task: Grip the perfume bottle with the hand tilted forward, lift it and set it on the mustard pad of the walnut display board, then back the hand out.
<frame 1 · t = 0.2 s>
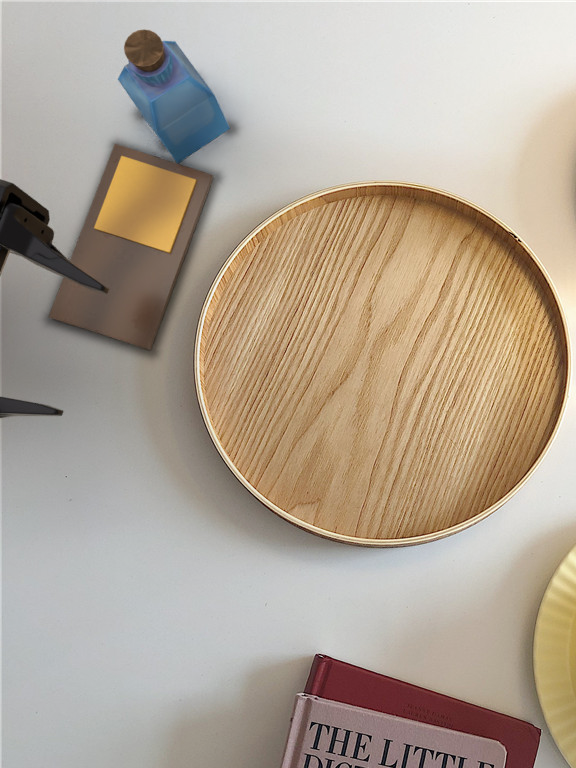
hand: (83, 351, 49), 17 cm above the table, tool horizontal, fingers open, 9 cm apart
perfume bottle: (186, 122, 68), on the table
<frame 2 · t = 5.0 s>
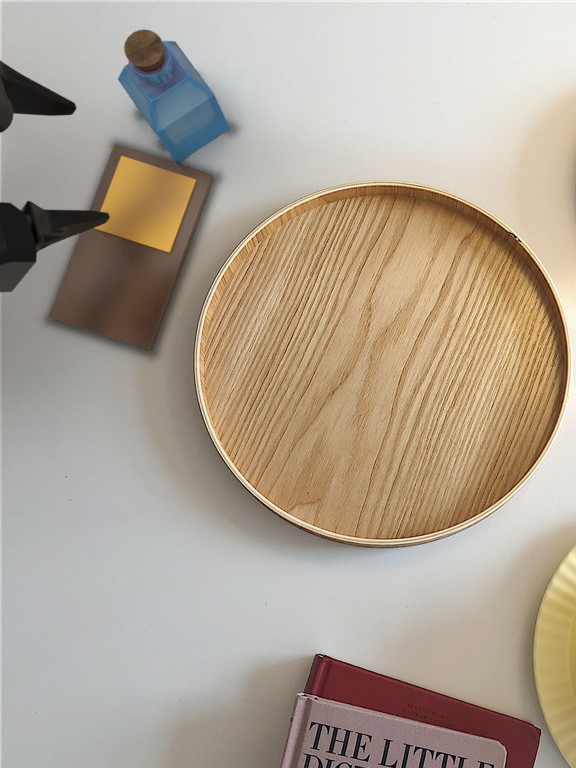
hand: (90, 163, 53), 13 cm above the table, tool tilted 45°, fingers open, 9 cm apart
nothing on the table moved.
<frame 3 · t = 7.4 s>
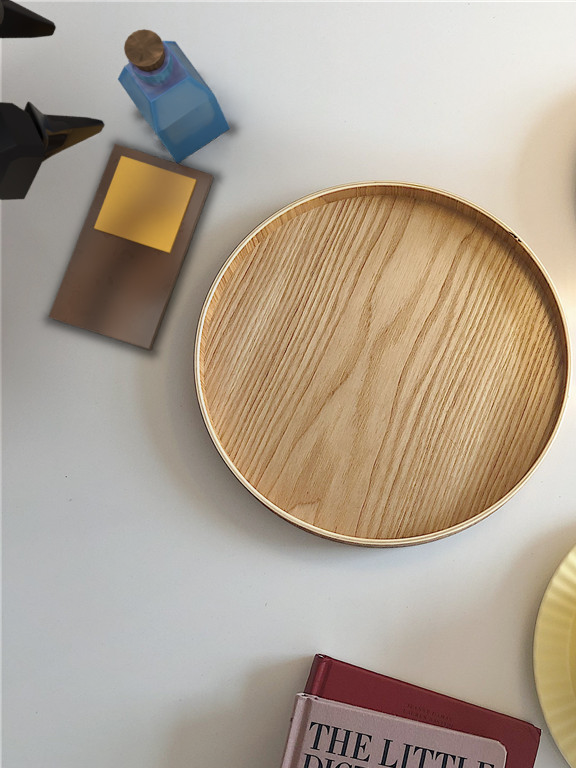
hand: (77, 77, 56), 12 cm above the table, tool tilted 45°, fingers open, 9 cm apart
nothing on the table moved.
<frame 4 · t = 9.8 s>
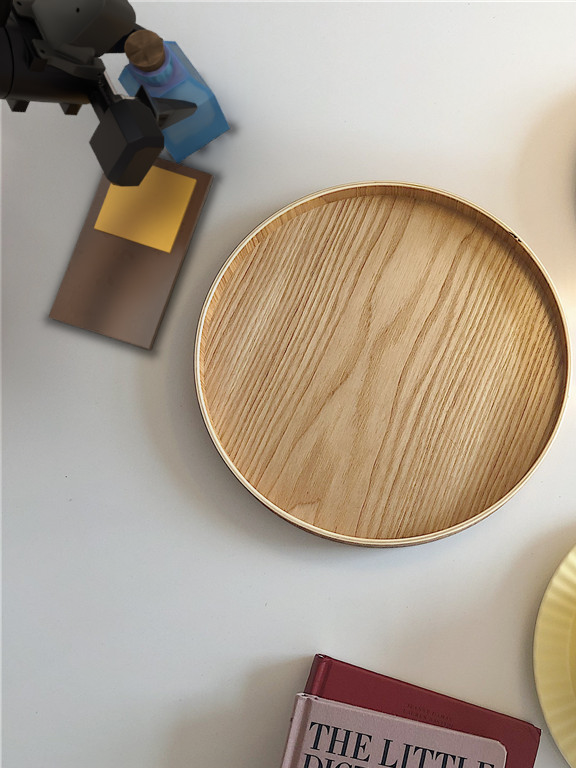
hand: (178, 77, 61), 7 cm above the table, tool tilted 45°, fingers closed on perfume bottle, 6 cm apart
perfume bottle: (186, 122, 68), on the table, touching gripper
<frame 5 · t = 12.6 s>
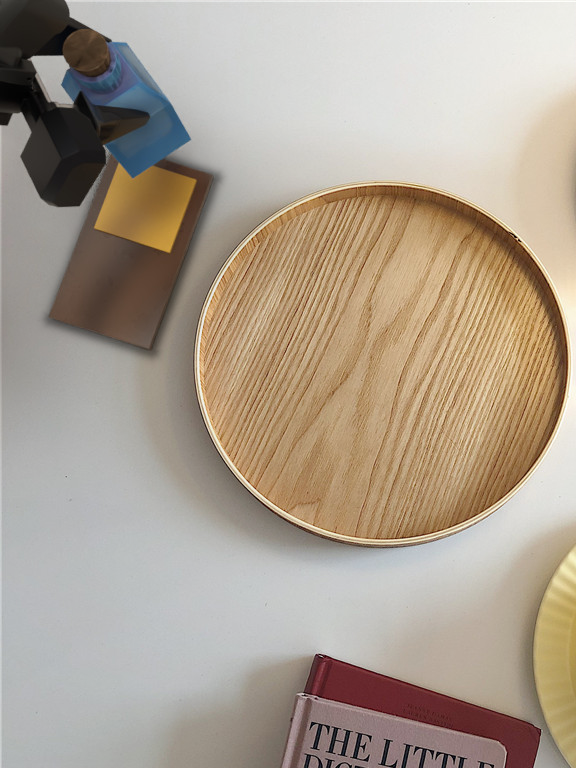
hand: (129, 82, 55), 13 cm above the table, tool tilted 45°, fingers closed on perfume bottle, 6 cm apart
perfume bottle: (142, 132, 61), point 6 cm above the table, touching gripper
when the fingers open (8 cm above the table, at t = 15.6 s): perfume bottle stays where it is, resting on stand.
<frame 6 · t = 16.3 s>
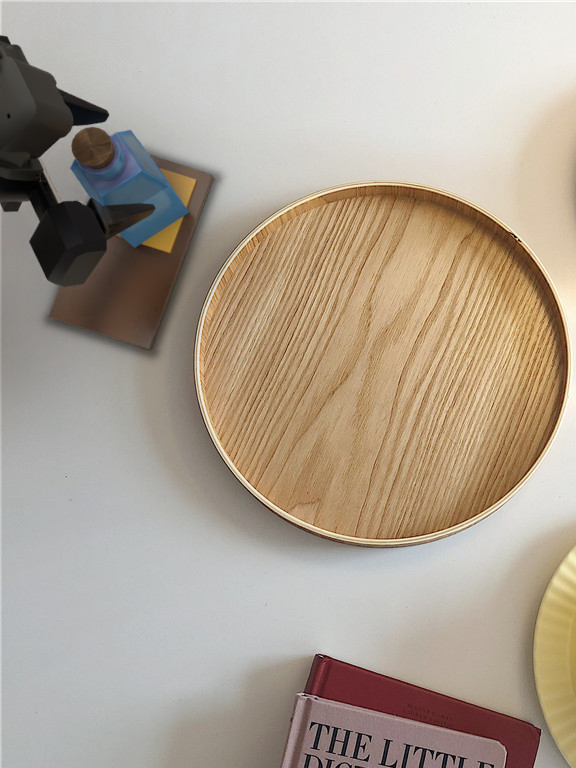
hand: (130, 162, 59), 8 cm above the table, tool tilted 45°, fingers open, 9 cm apart
perfume bottle: (145, 204, 66), point 1 cm above the table, touching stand
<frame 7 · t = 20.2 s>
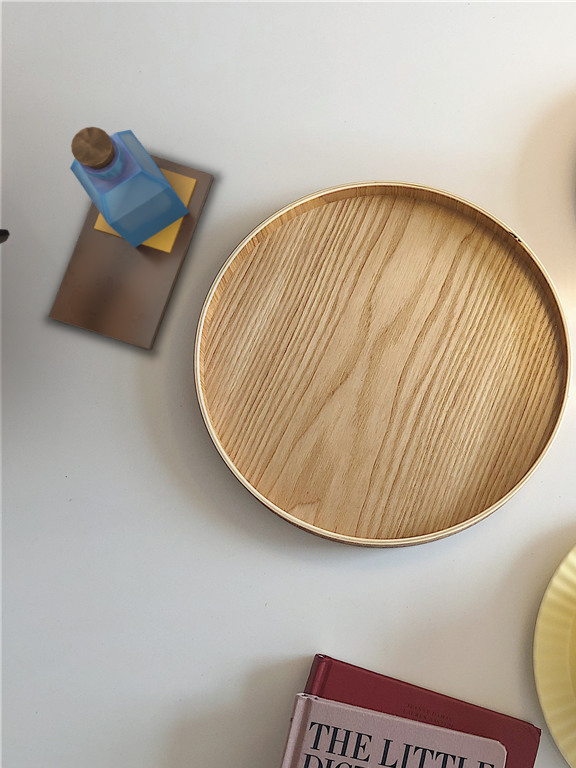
nothing on the table moved.
at the end: perfume bottle 0.1 cm from the target spot under the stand, point -26.3 cm above the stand's base; perfume bottle tilted 0°; the gripper is holding nothing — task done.
